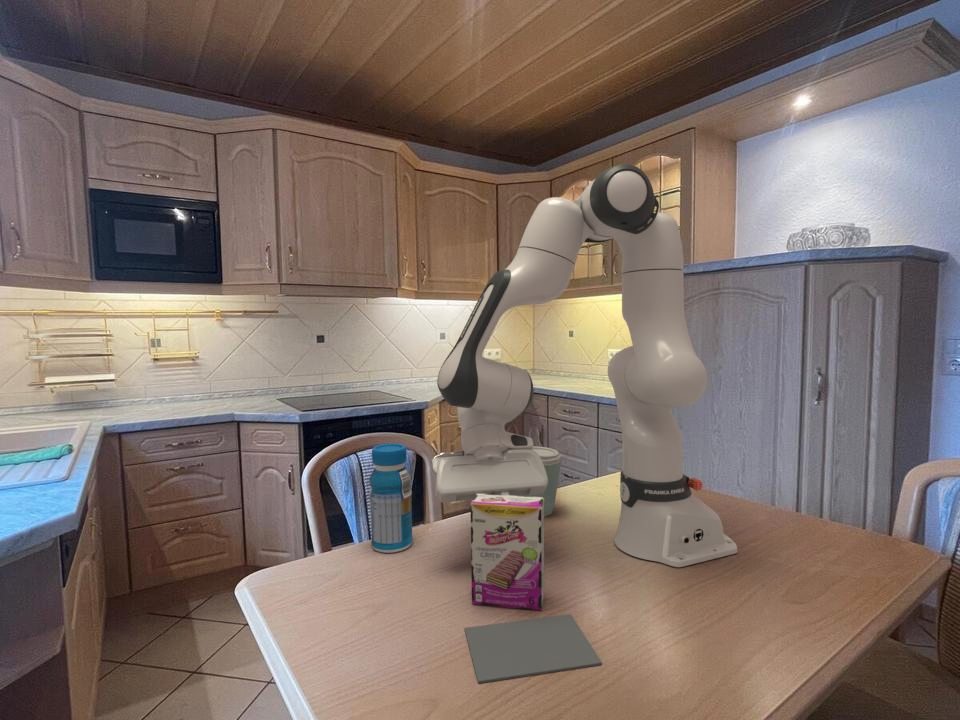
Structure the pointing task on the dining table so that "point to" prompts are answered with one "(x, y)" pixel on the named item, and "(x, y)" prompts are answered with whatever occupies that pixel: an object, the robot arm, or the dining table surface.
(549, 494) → the disposable coffee cup
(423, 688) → the dining table surface
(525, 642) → the mat
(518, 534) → the candy bar box
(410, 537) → the beverage bottle
